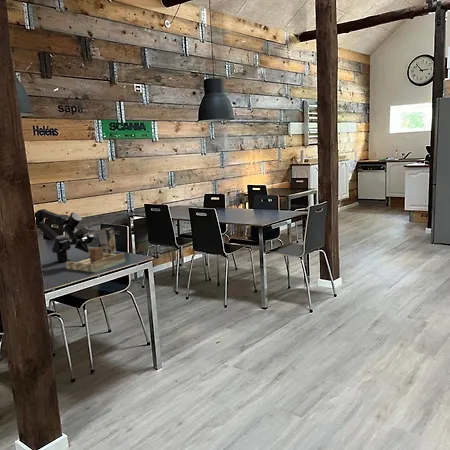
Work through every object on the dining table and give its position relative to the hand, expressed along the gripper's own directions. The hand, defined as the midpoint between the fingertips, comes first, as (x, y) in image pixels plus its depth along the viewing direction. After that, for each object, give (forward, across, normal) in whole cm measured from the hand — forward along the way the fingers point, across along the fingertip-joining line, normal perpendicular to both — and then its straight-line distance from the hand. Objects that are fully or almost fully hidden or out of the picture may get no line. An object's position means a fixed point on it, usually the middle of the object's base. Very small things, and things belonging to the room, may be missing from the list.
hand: (88, 252), depth 259 cm
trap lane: (+9, 0, +2) cm, 9 cm away
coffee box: (-1, +24, +11) cm, 26 cm away
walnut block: (+8, 0, 0) cm, 8 cm away
